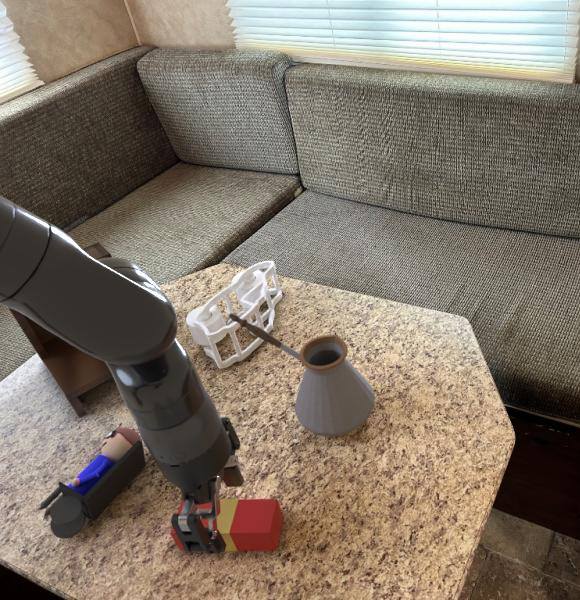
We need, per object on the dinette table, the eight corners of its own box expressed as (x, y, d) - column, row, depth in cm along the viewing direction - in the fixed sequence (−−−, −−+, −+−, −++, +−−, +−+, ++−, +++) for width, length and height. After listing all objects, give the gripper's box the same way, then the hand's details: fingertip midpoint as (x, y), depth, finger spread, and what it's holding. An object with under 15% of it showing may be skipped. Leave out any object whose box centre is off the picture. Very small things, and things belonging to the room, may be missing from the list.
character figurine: (47, 534, 77) (135, 447, 87) (83, 555, 74) (171, 461, 84) (15, 498, 73) (112, 409, 83) (52, 518, 69) (149, 423, 79)
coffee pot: (390, 398, 90) (379, 322, 80) (352, 457, 82) (335, 381, 73) (273, 361, 98) (251, 288, 89) (229, 412, 90) (199, 338, 81)
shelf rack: (79, 418, 92) (26, 335, 81) (45, 366, 102) (-6, 287, 91) (175, 362, 100) (139, 280, 89) (135, 319, 110) (98, 241, 99)
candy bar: (180, 551, 74) (169, 533, 71) (191, 517, 77) (181, 499, 75) (276, 551, 73) (269, 533, 70) (284, 516, 76) (277, 497, 74)
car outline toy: (259, 285, 114) (250, 253, 110) (305, 301, 110) (298, 268, 105) (181, 353, 102) (167, 320, 97) (230, 373, 97) (218, 340, 92)
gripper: (171, 380, 68) (212, 466, 79) (122, 492, 57) (177, 574, 68) (236, 378, 68) (269, 464, 78) (199, 491, 57) (243, 574, 67)
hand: (226, 515), depth 73 cm, fingers open, 8 cm apart
